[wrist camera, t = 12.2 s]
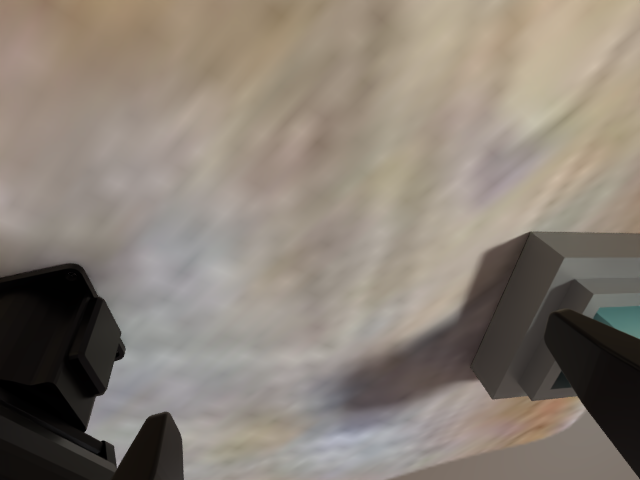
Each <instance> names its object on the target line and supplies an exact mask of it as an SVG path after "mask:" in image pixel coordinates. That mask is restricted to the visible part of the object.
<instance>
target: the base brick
mask: <svg viewBox="0 0 640 480" xmlns="http://www.w3.org/2000/svg"><path fill="white" fill-rule="evenodd" d="M626 306H640V234H628V233H573V232H531V233H530V235H529V237H528V240H527V242H526V244H525V246H524V249H523V251H522V253H521V255H520V258H519V260H518V262H517V264H516V266H515V269H514V271H513V273H512V275H511V278H510V280H509V282H508V284H507V287H506V289H505V291H504V293H503V296H502V298H501V300H500V302H499V305H498V307H497V309H496V311H495V313H494V316H493V318H492V320H491V322H490V325H489V327H488V329H487V331H486V334H485V336H484V338H483V340H482V343H481V345H480V347H479V349H478V352H477V354H476V356H475V358H474V361H473V363H472V365H471V369H472V370H473V372H474V373H475V375H476V376H477V378H478V379H479V380H480V382H481V383H482V385H483V386H484V388H485V389H486V391H487V392H488V394H489V395H490V397H491V398H492V400H493V399H502V398H512V397H521V396H528V397H529V398H530V399H531V401H537V400H546V399H555V398H564V397H573V396H577V395H576V393H575V391H574V390H573V388H572V387H571V385H570V383H569V382H568V380H567V379H566V377H565V375H564V374H563V372H562V371H561V369H560V367H559V366H558V364H557V362H556V361H555V359H554V358H553V356H552V354H551V353H550V351H549V350H548V348H547V346H546V344H545V341H544V332H545V328H546V324H547V320H548V316H549V314H550V313H551V312H553V311H557V310H561V309H571V310H574V311H576V312H578V313H581V314H583V315H585V316H588V317H590V318H592V319H593V318H594V316H595V314H596V313H597V311H598V309H599V308H602V307H626Z"/></svg>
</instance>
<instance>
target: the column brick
mask: <svg viewBox="0 0 640 480" xmlns="http://www.w3.org/2000/svg"><path fill="white" fill-rule="evenodd" d="M593 319H595V320H597V321H599V322H601V323H604V324H606V325H608V326H611V327H613V328H615V329H618V330H620V331H622V332H625V333H627V334H629V335H632V336H634V337H636V338H639V339H640V306H626V307H602V308H599V309H598V311H597V313H596V314H595V316H594V318H593Z"/></svg>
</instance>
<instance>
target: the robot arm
mask: <svg viewBox="0 0 640 480" xmlns="http://www.w3.org/2000/svg"><path fill="white" fill-rule="evenodd" d="M71 272H72V273H75V274H76V275H77V276H71V275H69V274H68V273H71ZM120 337H121V331H120V329H119V327H118V325H117V323H116V321H115V319H114V317H113V316H112V314H111V312H110V310H109V308H108V306H107V304H106V302H105V300H104V299H102V298H101V297H98V295H97V293H96V291H95V289H94V287H93V285H92V284H91V282H90V280H89V278H88V276H87V274H86V272H85V270H84V269H83V268H82V267H81V266H79V265H77V264H66V265H62V266H57V267H52V268H47V269H43V270H38V271H33V272H29V273H24V274H19V275H14V276H10V277H5V278H0V480H184V474H183V449H182V438H181V434H180V432H179V430H178V428H177V426H176V424H175V422H174V420H173V418H172V416H171V414H170V413H169V412H162V413H158V414H154V415H151V416H149V417H148V418H147V419H146V421H145V423H144V424H143V426H142V428H141V429H140V431H139V433H138V434H137V436H136V438H135V439H134V441H133V443H132V444H131V446H130V448H129V449H128V451H127V453H126V454H125V456H124V458H123V460H122V461H121V463H120V465H119V466H118V468H117V466H116V458H115V450H114V446H113V445H112V444H110V443H108V442H106V441H104V440H103V441H99V440H97V439H95V438H93V437H92V436H90V435H88V434H86V433H84V432H85V431H86V430H87V426H88V423H89V419H90V415H91V412H92V408H93V405H94V401H95V398H96V396H100V395H103V394H104V393H105V391H106V390H107V387H108V383H109V379H110V375H111V371H112V367H113V364H114V361H117V360H120V359H122V358H123V357H124V354H125V350H126V349H125V346H124V344H123V342H122V340H121V338H120ZM544 341H545V344H546V346H547V348H548V350H549V351H550V353H551V354H552V356H553V358H554V359H555V361H556V362H557V364H558V366H559V367H560V369H561V371H562V372H563V374H564V375H565V377H566V379H567V380H568V382H569V383H570V385H571V387H572V388H573V390H574V391H575V393H576V395H577V396H578V398H579V399H580V401H581V402H582V403H583V405H584V406H585V408H586V409H587V410H588V412H589V413H590V414H591V416H592V417H593V418H594V419H595V421H596V422H597V423H598V425H599V426H600V427H601V429H602V430H603V431H604V432H605V434H606V435H607V437H608V438H609V439H610V441H611V442H612V443H613V444H614V446H615V447H616V448H617V450H618V451H619V452H620V454H621V455H622V456H623V458H624V459H625V460H626V462H627V463H628V464H629V466H630V467H631V468H632V469H633V471H634V472H635V473H636V475H637V476H638V477H639V479H640V339H639V338H636V337H634V336H632V335H629V334H627V333H625V332H622V331H620V330H618V329H615V328H613V327H611V326H608V325H606V324H604V323H601V322H599V321H597V320H595V319H592V318H590V317H588V316H585V315H583V314H581V313H578V312H576V311H574V310H571V309H561V310H557V311H553V312H551V313H550V314H549V316H548V320H547V324H546V328H545V332H544Z"/></svg>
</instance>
